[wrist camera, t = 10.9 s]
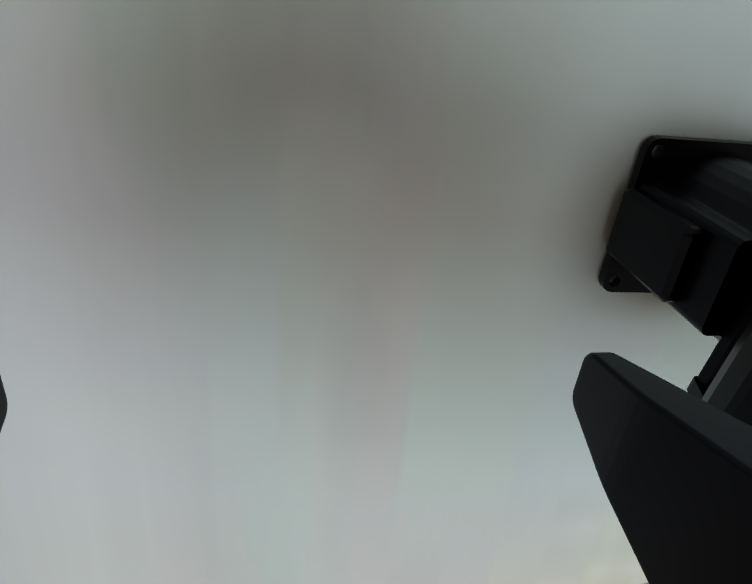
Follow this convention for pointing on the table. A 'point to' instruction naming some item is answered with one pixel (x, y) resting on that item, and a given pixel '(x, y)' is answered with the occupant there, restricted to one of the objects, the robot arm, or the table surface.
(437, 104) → the table surface
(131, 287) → the table surface
